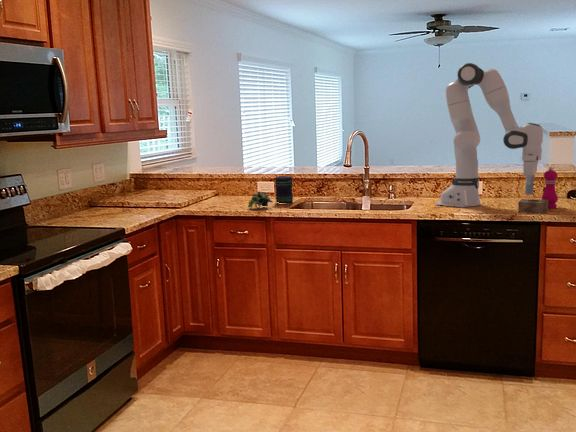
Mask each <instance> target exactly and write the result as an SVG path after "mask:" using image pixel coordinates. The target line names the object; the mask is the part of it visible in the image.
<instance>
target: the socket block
mask: <svg viewBox="0 0 576 432" xmlns="http://www.w3.org/2000/svg"><path fill="white" fill-rule="evenodd" d="M517 204H518V208H517V209H518V211H517V212H518V213H522V212H527V213H526V214H547V212H548V211H549V209H548V200H542V199H537V198H536V199H535V198H533V199H532V198H521V199H520V200H519V201H518V203H517Z"/></svg>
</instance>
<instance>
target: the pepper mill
mask: <svg viewBox="0 0 576 432" xmlns="http://www.w3.org/2000/svg"><path fill="white" fill-rule="evenodd" d="M543 178H544V179H545V180H544V184H545V190H544V192H543V194H542V196H541V200H548V210H550V209H557V204H556V203H557V202H558V200H559V196H558V194H557V191H556V189H555V185H556V184H557V178H558V173H557V171H556V170H553V167H552V166H550V167H549V168H548V170H546V171H545V172H544V174H543Z"/></svg>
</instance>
